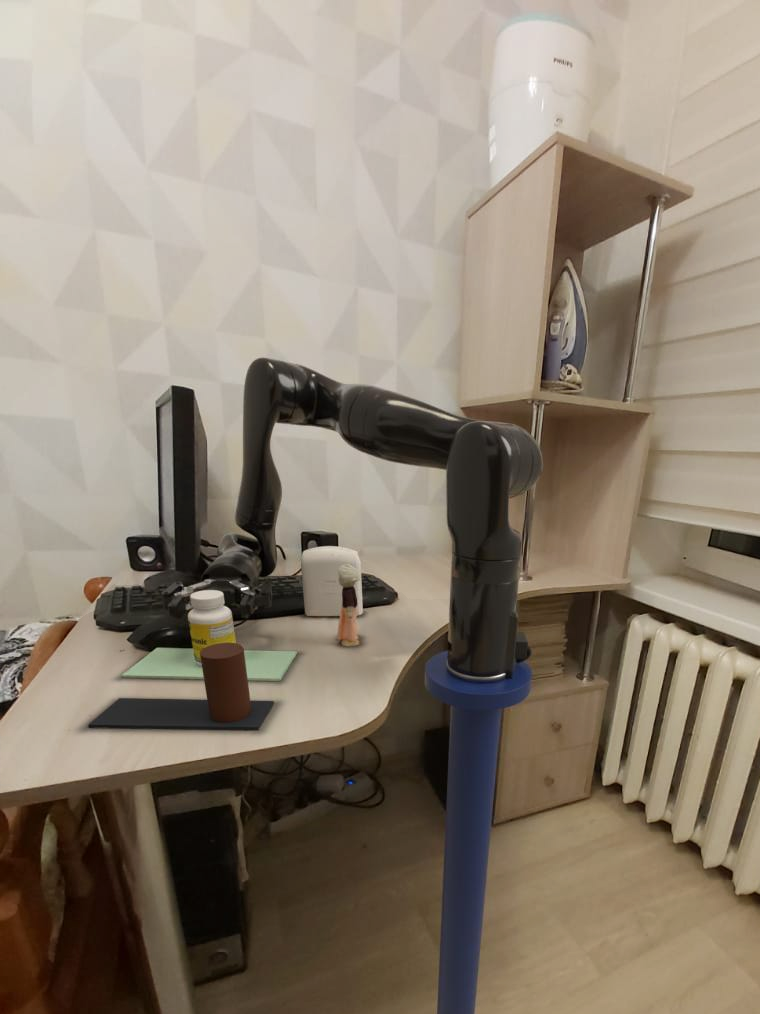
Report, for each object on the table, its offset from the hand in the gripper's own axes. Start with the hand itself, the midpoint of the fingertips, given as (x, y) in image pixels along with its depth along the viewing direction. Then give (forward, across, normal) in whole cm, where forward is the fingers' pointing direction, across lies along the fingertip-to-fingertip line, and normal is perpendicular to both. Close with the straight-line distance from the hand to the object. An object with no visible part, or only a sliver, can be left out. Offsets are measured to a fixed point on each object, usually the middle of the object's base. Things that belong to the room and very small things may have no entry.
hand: (209, 611), depth 70 cm
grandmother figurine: (-5, +18, +8) cm, 21 cm away
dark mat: (+15, 0, +8) cm, 16 cm away
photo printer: (-19, +16, +8) cm, 26 cm away
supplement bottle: (0, 0, +7) cm, 7 cm away
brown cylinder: (+15, +4, +7) cm, 18 cm away
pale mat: (+1, 0, +8) cm, 8 cm away
